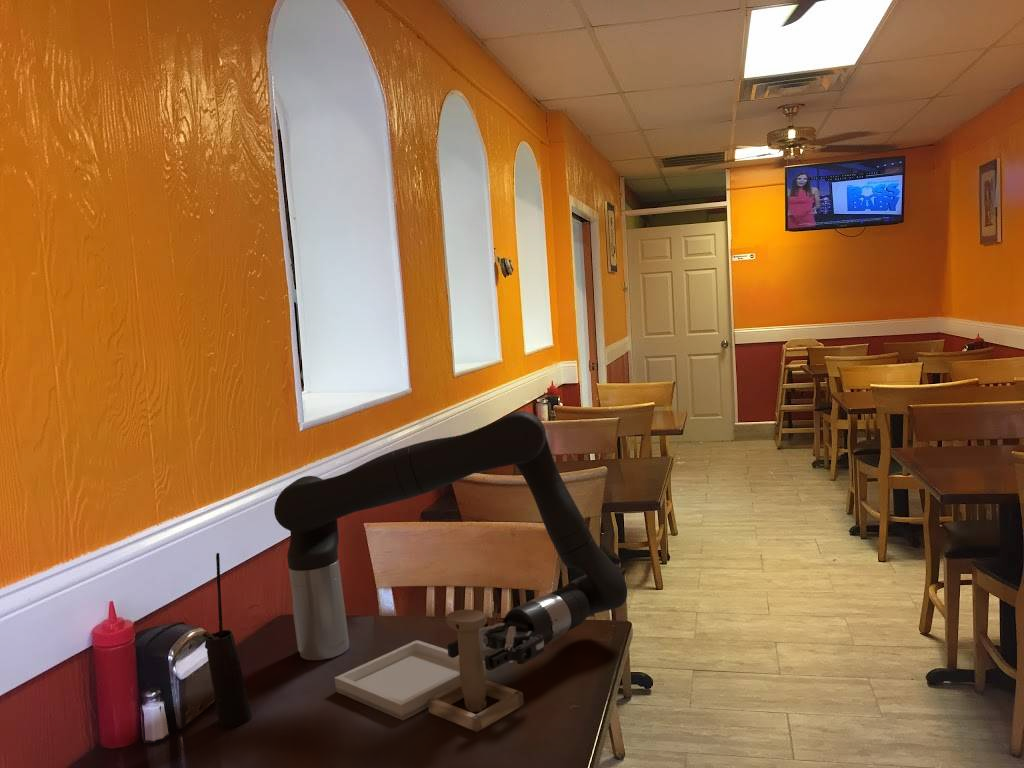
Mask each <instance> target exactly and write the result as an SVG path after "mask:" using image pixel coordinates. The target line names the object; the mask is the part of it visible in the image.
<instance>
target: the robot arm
mask: <svg viewBox="0 0 1024 768" xmlns="http://www.w3.org/2000/svg"><path fill="white" fill-rule="evenodd" d="M546 433H547V432H546V427H545V426H544V423H543V422H542V421H541V419H540V418H538V417H537V415H535V414H533V413H531V412H528V411H522V410H521V411H514V412H511V413H509V414H507V415H504V416H503V417H502V418H500V419H497V420H495V421H493V422H491V423H489V424H486V425H484V426H482V427H479V428H476V429H475V430H474V429H473V430H472V431H469V432H466V433H463V434H458V435H455V436H454V435H453V436H449V437H448V436H447V437H439V438H435V439H430V440H425V441H421V442H417V443H414V444H411V445H410V444H409V445H407V446H404V447H400V448H398V449H394V450H391V451H390V452H387V453H384V454H382V455H379V456H377V457H375V458H372V459H371V460H368V461H366V462H364V463H363V464H361V465H359V466H357V467H355V468H353V469H351V470H348V471H347V472H344V473H341V474H339V475H335V476H333V477H328V478H325V479H323V478H322V477H318V476H315V475H305V476H302V477H299V478H298V479H296V480H294V481H293V482H291V483H290V484H289V485H287V486H286V487H285V488H284V489H282V491H281V492H280V493H279V495H278V496H277V499H276V501H275V502H274V508H273V512H274V517H275V520H276V521H277V522H278V524H279V525H280V526H281V527H282V528H284V529H285V530H288V531H290V540H289V546H288V550H287V555H286V558H287V566H288V572H289V580H290V581H289V582H290V586H291V594H292V605H291V606H292V614H293V622H294V629H295V636H296V644H297V650H298V652H299V656H300V657H301V659H304V660H307V661H323V660H328V659H333V658H335V657H338V656H340V655H343V654H344V653H346V652H347V650H348V649H349V648H350V642H349V641H350V639H349V632H348V624H347V615H346V614H347V613H346V608H345V601H344V593H343V592H344V591H343V584H342V576H341V569H340V559H339V552H338V551H339V541H340V539H339V537H340V535H339V534H340V533H339V525H338V524H339V523H338V519H341V518H343V517H345V516H347V515H350V514H353V513H358V512H360V511H364V510H369V509H373V508H376V507H382V506H386V505H390V504H394V503H398V502H400V501H404V500H405V501H406V500H409V499H413V498H416V497H418V496H421V495H424V494H428V493H431V492H434V491H436V490H439V489H441V488H443V487H447V486H448V485H451V484H453V483H456V482H458V481H460V480H462V479H464V478H466V477H468V476H471V475H474V474H477V473H481V472H485V471H488V470H493V469H497V468H503V467H508V466H513V465H514V466H515V467H516V468H517V469H518V470H519V472H520V474H521V475H522V477H523V479H524V480H525V483H526V484H527V486H528V488H529V490H530V492H531V494H532V497H533V499H534V501H535V504H536V506H537V509H538V512H539V515H540V517H541V520H542V523H543V524H544V527H545V530H546V531H547V534H548V536H549V539H550V540H551V543H552V545H553V547H554V549H555V550H556V553H557V555H558V556H559V558H560V560H561V562H562V563H563V565H564V566H565V567H567V568H569V569H579V570H581V571H582V572H583V574H585V575H582V576H579V577H577V578H575V579H573V580H572V581H570V582H568V583H567V584H566V585H564V586H562V587H561V588H558V589H556V590H554V591H552V592H549V593H547V594H545V595H540V596H538V597H535V598H533V599H531V600H529V601H527V602H524V603H522V604H521V605H519V606H516V607H514V608H512V609H510V610H509V611H508V612H507V613H505V614H506V615H505V616H504V619H503V620H502V622H499V623H495V624H493V625H489V621H488V619H487V623H486V624H485V625H484V626H483V627H482V628H480V629H479V638H480V644H481V651H482V652H483V651H490V650H494V651H492V652H491V653H488V654H486V655H485V657H484V662H485V667H486V671H487V670H488V671H492V670H495V669H496V668H499V667H501V666H502V665H504V664H513V663H514V662H517V665H524V664H526V663H528V662H530V661H531V660H532V659H534V658H536V657H537V656H539V655H540V654H542V653H544V652H545V646H546V645H549V643H551V642H553V641H555V640H557V639H558V638H560V637H561V636H563V635H564V634H566V633H567V632H570V631H571V630H573V629H575V628H577V627H578V626H580V625H582V624H583V623H584V622H585V621H586V619H587V618H588V617H589V616H592V615H596V614H598V613H604V612H607V611H610V610H615V609H618V608H620V607H622V606H623V605H624V604H625V603H626V601H627V598H628V586H627V582H626V579H625V577H624V575H623V574H622V572H621V571H620V569H619V567H617V566H616V565H615V563H614V562H613V560H611V559H610V557H608V555H607V554H606V553H605V552H604V550H602V549H601V547H600V546H599V545H598V544H597V542H596V540H595V538H594V537H593V535H592V533H591V531H590V528H589V527H588V524H587V523H586V521H585V518H584V517H583V515H582V513H581V511H580V510H579V508H578V506H577V505H576V502H575V501H574V499H573V497H572V496H571V494H570V493H571V492H569V490H568V488H567V486H566V484H565V482H564V480H563V478H562V476H561V474H560V471H559V469H558V467H557V465H556V462H555V460H554V457H553V455H552V450H551V447H550V445H549V441H548V438H547V434H546ZM484 639H486V640H487V643H485V642H484ZM446 648H447V650H448V656H449V657H451V658H454V657H456V656H458V655H459V650H458V639H456V640H453V641H452V642H450V643H448V645H447V647H446Z"/></svg>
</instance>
